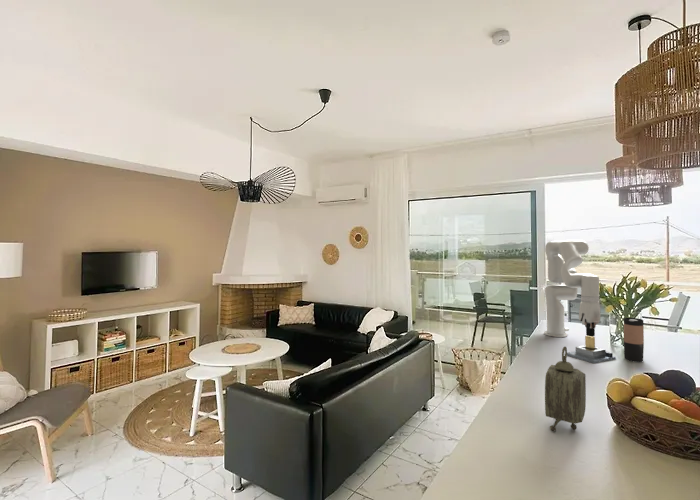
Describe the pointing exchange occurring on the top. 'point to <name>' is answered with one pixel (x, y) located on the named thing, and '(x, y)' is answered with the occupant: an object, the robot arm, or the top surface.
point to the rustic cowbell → (565, 393)
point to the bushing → (589, 342)
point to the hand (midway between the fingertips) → (590, 335)
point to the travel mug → (633, 339)
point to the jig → (591, 354)
